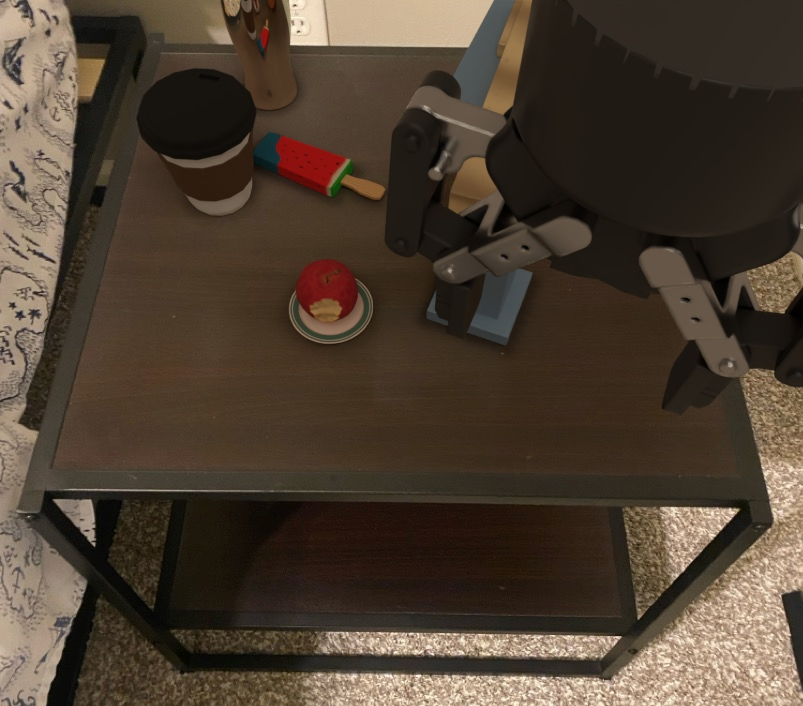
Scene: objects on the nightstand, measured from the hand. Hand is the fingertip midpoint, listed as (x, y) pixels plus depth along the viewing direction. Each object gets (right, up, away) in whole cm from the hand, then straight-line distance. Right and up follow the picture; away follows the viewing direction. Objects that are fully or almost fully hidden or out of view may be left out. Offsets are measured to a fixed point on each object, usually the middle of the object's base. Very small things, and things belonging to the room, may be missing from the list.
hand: (565, 354), depth 28 cm
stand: (+1, +5, +41) cm, 42 cm away
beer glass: (-22, +30, +55) cm, 67 cm away
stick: (0, +15, +14) cm, 21 cm away
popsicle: (-15, +19, +49) cm, 55 cm away
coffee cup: (-25, +17, +48) cm, 57 cm away
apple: (-13, +4, +41) cm, 43 cm away
